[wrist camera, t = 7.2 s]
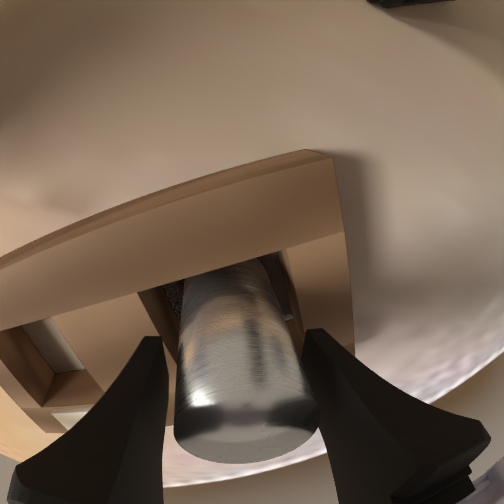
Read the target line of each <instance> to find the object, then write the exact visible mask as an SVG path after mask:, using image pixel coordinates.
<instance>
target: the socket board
mask: <svg viewBox="0 0 504 504" xmlns="http://www.w3.org/2000/svg"><path fill="white" fill-rule="evenodd" d="M273 252H278V256H279V260H280V264H281V268H282V273H283V277H284V281H285V285H286V289H287V294H288V298H289V302H290V307H291V311H292V315H293V319H292V320H289V321H286V324H287V327H288V329H289V332H290V334H291V337H292V340H293V342H294V345H295V348H296V350H297V353H298V356H299V358H300V361H301V355H302V350H303V345H304V339H305V334H306V329H316V328H323V329H324V330H325V331H326V332H327V333H328V334H330V335H331V336H332V337H333V338H334V339H335V340H336V341H337V342H338V343H340V344H341V345H342V346H343V347H344V348H345V349H346V350H347V351H349V352H350V353H351V354H352V355H353V356H354V357H355V347H354V327H353V312H352V299H351V287H350V277H349V267H348V258H347V249H346V241H345V233H344V226H343V219H342V212H341V205H340V199H339V192H338V186H337V181H336V175H335V169H334V164H333V158H331V157H328V156H325V155H322V154H319V153H316V152H313V151H310V150H307V149H303V150H299V151H295V152H291V153H286V154H282V155H278V156H274V157H270V158H267V159H263V160H259V161H255V162H252V163H248V164H244V165H241V166H237V167H233V168H230V169H227V170H223V171H220V172H216V173H213V174H210V175H206V176H203V177H200V178H197V179H193V180H190V181H187V182H184V183H181V184H178V185H175V186H172V187H169V188H166V189H163V190H160V191H157V192H154V193H151V194H148V195H146V196H143V197H140V198H137V199H135V200H132V201H129V202H126V203H124V204H121V205H118V206H116V207H113V208H111V209H108V210H105V211H103V212H100V213H98V214H95V215H93V216H90V217H88V218H85V219H83V220H80V221H78V222H76V223H73V224H71V225H69V226H66V227H64V228H62V229H59V230H57V231H55V232H52V233H50V234H48V235H46V236H44V237H41V238H39V239H37V240H35V241H33V242H31V243H28V244H26V245H24V246H22V247H20V248H18V249H16V250H14V251H12V252H10V253H8V254H6V255H4V256H2V257H0V386H1V387H2V388H3V389H4V390H5V392H6V393H7V394H8V395H9V396H10V397H11V398H12V399H13V401H14V402H15V403H16V404H17V405H18V406H19V407H20V408H21V409H22V410H23V411H24V412H25V413H26V414H27V415H28V416H29V417H30V418H31V419H32V420H33V421H34V422H35V423H36V424H37V425H38V426H39V427H40V428H41V429H42V430H43V431H44V432H45V433H66V432H67V431H68V430H69V429H71V428H72V427H73V426H74V425H75V424H76V423H77V422H78V421H79V420H80V419H81V418H82V417H83V416H84V415H85V414H86V413H87V412H88V411H89V410H90V409H91V408H92V407H93V406H94V405H95V404H96V403H97V401H98V400H99V399H100V398H101V397H102V396H103V394H104V393H105V392H106V390H107V389H108V388H109V387H110V385H111V384H112V383H113V382H114V380H115V379H116V378H117V376H118V375H119V373H120V372H121V371H122V369H123V368H124V366H125V365H126V363H127V362H128V360H129V359H130V357H131V356H132V354H133V353H134V351H135V350H136V348H137V346H138V345H139V343H140V341H141V340H142V338H143V337H144V336H162V341H163V347H164V352H165V357H166V363H167V368H168V372H169V402H168V410H167V418H166V426H171V425H174V406H175V387H176V371H177V357H178V345H179V333H180V322H179V320H178V318H177V316H176V314H175V312H174V310H173V308H172V306H171V304H170V302H169V300H168V297H167V295H166V293H165V291H164V289H163V287H162V285H164V284H167V283H171V282H174V281H178V280H181V279H185V278H188V277H191V276H195V275H198V274H202V273H205V272H209V271H212V270H215V269H219V268H222V267H226V266H229V265H232V264H236V263H239V262H243V261H246V260H249V259H253V258H256V257H260V256H263V255H266V254H270V253H273ZM48 317H51V319H52V320H53V322H54V323H55V325H56V327H57V328H58V330H59V331H60V333H61V334H62V336H63V337H64V339H65V340H66V342H67V343H68V344H69V346H70V347H71V349H72V350H73V352H74V353H75V354H76V356H77V357H78V359H79V360H80V361H81V363H82V364H83V365H84V367H85V368H86V369H84V370H78V371H72V372H65V373H59V374H55V373H54V372H53V371H52V370H51V368H50V367H49V366H48V364H47V363H46V362H45V360H44V359H43V358H42V356H41V355H40V354H39V352H38V351H37V350H36V348H35V347H34V345H33V344H32V343H31V341H30V340H29V338H28V337H27V335H26V334H25V332H24V331H23V329H22V328H21V326H20V325H23V324H27V323H31V322H34V321H38V320H41V319H45V318H48Z"/></svg>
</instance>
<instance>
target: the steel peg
mask: <svg viewBox="0 0 504 504" xmlns="http://www.w3.org/2000/svg"><path fill="white" fill-rule="evenodd" d="M320 418H321V417H320V411H319V409H318V406H317V403H316V401H315V398H314V395H313V393H312V390H311V387H310V385H309V382H308V379H307V377H306V374H305V371H304V369H303V366H302V363H301V361H300V358H299V356H298V353H297V350H296V348H295V345H294V342H293V340H292V337H291V334H290V332H289V329H288V327H287V324H286V321H285V319H284V316H283V314H282V311H281V308H280V306H279V303H278V300H277V298H276V295H275V293H274V290H273V287H272V285H271V282H270V280H269V277H268V274H267V272H266V269H265V268H264V266H263V264H262V263H261V262H260V261H259V260H258V259H257V258H253V259H249V260H246V261H243V262H239V263H236V264H232V265H229V266H226V267H222V268H219V269H215V270H212V271H209V272H205V273H202V274H198V275H195V276H191V277H188V278H185V283H184V292H183V302H182V311H181V322H180V333H179V345H178V357H177V371H176V387H175V406H174V436H175V439H176V441H177V443H178V444H179V445H180V446H181V447H182V448H183V449H184V450H185V451H187V452H189V453H190V454H192V455H194V456H196V457H199V458H201V459H205V460H208V461H212V462H218V463H227V464H244V463H254V462H260V461H265V460H269V459H272V458H275V457H278V456H281V455H284V454H286V453H288V452H290V451H292V450H294V449H296V448H297V447H299V446H301V445H302V444H303V443H305V442H306V441H307V440H308V439H309V438H310V437H311V436H312V435H313V434H314V433H315V431H316V430H317V428H318V426H319V423H320Z"/></svg>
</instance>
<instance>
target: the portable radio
mask: <svg viewBox="0 0 504 504" xmlns="http://www.w3.org/2000/svg"><path fill="white" fill-rule="evenodd" d="M367 1H368V2H370V3H378V4H380V5H381V6H382V7H384V8H394V7H400V6H407V5H415V4H424V3H433V2H442V1H453V0H367Z"/></svg>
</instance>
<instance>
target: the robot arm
mask: <svg viewBox="0 0 504 504" xmlns="http://www.w3.org/2000/svg"><path fill="white" fill-rule="evenodd" d="M301 363H302V366H303V369H304V371H305V374H306V377H307V379H308V382H309V385H310V387H311V390H312V393H313V395H314V398H315V401H316V403H317V406H318V409H319V411H320V417H321V418H320V423H319V426H318V427H319V430H320V432H321V435H322V437H323V440H324V443H325V446H326V449H327V453H328V457H329V460H330V464H331V468H332V473H333V477H334V481H335V486H336V491H337V496H338V501H339V504H504V457H503V458H501V459H500V460H499V461H498V462H496V463H495V464H494V465H493V466H492V467H491V468H490V469H488V470H487V471H486V473H485V474H483V475H482V476H480V477H479V478H477V479H476V480H474V481H473V482H472V481H471V480H470V478H469V476H468V475H470V474H471V473H472V470H471V469H470V467H469V464H470V463H471V462H472V461H474V460H475V459H476V458H477V457H478V456H479V455H480V454H481V453H482V452H483V451H484V450H485V448H486V447H487V446H488V444H489V443H490V441H491V437H490V435H489V434H488V432H487V431H486V429H485V428H484V426H483V425H482V423H481V422H480V421H479V420H475V419H471V418H467V417H463V416H460V415H456V414H453V413H450V412H447V411H444V410H442V409H439V408H436V407H434V406H432V405H429V404H427V403H425V402H423V401H421V400H419V399H417V398H414V397H412V396H411V395H409V394H407V393H405V392H403V391H402V390H400V389H398V388H397V387H395V386H393V385H392V384H390V383H389V382H387V381H386V380H384V379H383V378H381V377H380V376H379V375H377V374H376V373H375V372H373V371H372V370H370V369H369V368H368V367H367V366H365V365H364V364H363V363H362V362H360V361H359V360H358V359H357V358H356V357H354V356H353V355H352V354H351V353H350V352H349V351H347V350H346V349H345V348H344V347H343V346H342V345H341V344H340V343H338V342H337V341H336V340H335V339H334V338H333V337H332V336H331V335H330V334H328V333H327V332H326V331H325V330H324V329H323V328H316V329H306V334H305V339H304V345H303V350H302V355H301ZM168 402H169V372H168V368H167V363H166V357H165V352H164V347H163V341H162V336H144V337H143V338H142V340H141V341H140V343H139V345H138V346H137V348H136V350H135V351H134V353H133V354H132V356H131V357H130V359H129V360H128V362H127V363H126V365H125V366H124V368H123V369H122V371H121V372H120V373H119V375H118V376H117V378H116V379H115V380H114V382H113V383H112V384H111V385H110V387H109V388H108V389H107V390H106V392H105V393H104V394H103V396H102V397H101V398H100V399H99V400H98V401H97V403H96V404H95V405H94V406H93V407H92V408H91V409H90V410H89V411H88V412H87V413H86V414H85V415H84V416H83V417H82V418H81V419H80V420H79V421H78V422H77V423H76V424H75V425H74V426H73V427H72V428H71V429H69V430H68V431H67V432H66V433H65V434H64V435H62V436H61V437H60V438H58V439H57V440H56V441H54V442H53V443H52V444H50V445H49V446H48V447H46V448H45V449H44V450H42V451H41V452H39V453H37V454H36V455H34V456H32V457H31V458H29V459H27V460H25V461H24V462H22V463H20V464H18V465H16V467H15V470H14V473H13V475H12V479H11V483H10V487H9V492H8V496H7V502H8V503H9V504H164V501H163V482H162V452H163V442H164V434H165V426H166V418H167V410H168Z"/></svg>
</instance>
